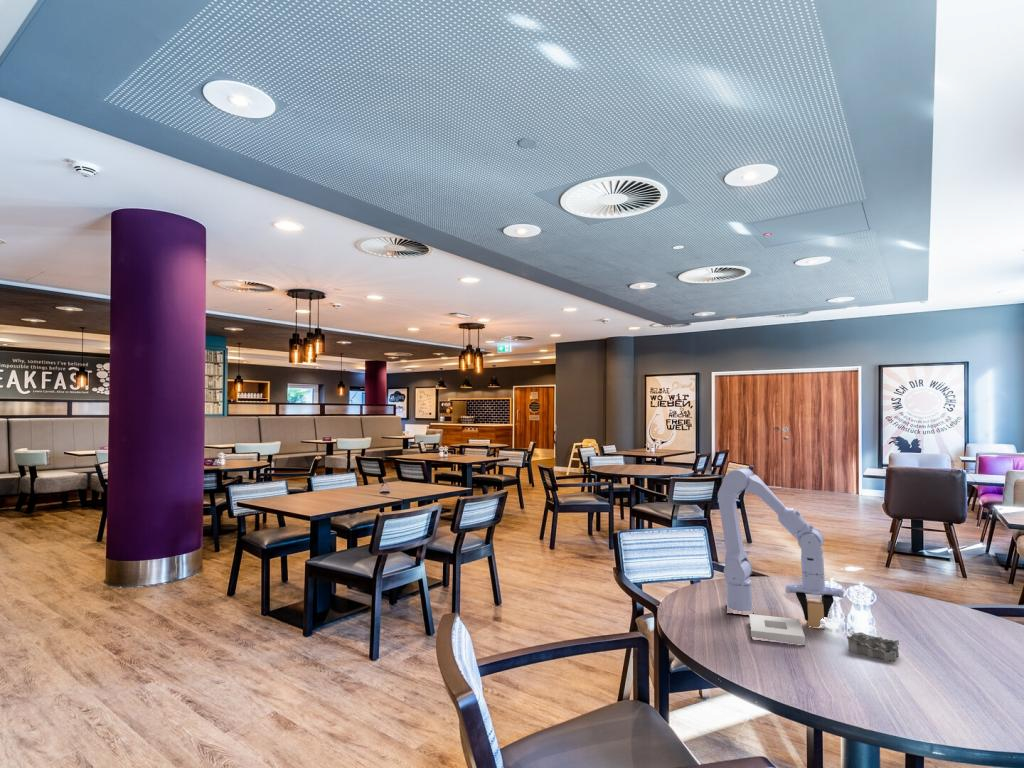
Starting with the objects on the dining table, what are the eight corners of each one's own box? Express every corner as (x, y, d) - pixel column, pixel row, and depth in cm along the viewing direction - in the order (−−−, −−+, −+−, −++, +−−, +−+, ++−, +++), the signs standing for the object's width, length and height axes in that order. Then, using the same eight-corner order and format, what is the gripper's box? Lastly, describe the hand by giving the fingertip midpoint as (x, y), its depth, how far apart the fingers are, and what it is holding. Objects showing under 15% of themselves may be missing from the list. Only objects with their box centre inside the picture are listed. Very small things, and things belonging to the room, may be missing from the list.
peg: (806, 622, 160) (805, 598, 161) (822, 624, 159) (821, 599, 159) (808, 627, 157) (807, 602, 157) (824, 629, 155) (823, 604, 156)
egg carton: (845, 652, 141) (844, 635, 142) (854, 643, 147) (853, 627, 147) (894, 664, 134) (893, 647, 134) (902, 655, 139) (901, 638, 139)
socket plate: (749, 622, 161) (749, 614, 162) (799, 628, 157) (798, 619, 157) (751, 639, 149) (751, 630, 149) (805, 646, 145) (804, 636, 145)
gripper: (786, 573, 158) (788, 622, 157) (844, 578, 152) (847, 628, 152) (783, 567, 164) (786, 613, 163) (839, 571, 159) (842, 619, 158)
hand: (815, 620), depth 158 cm, fingers closed on peg, 4 cm apart
